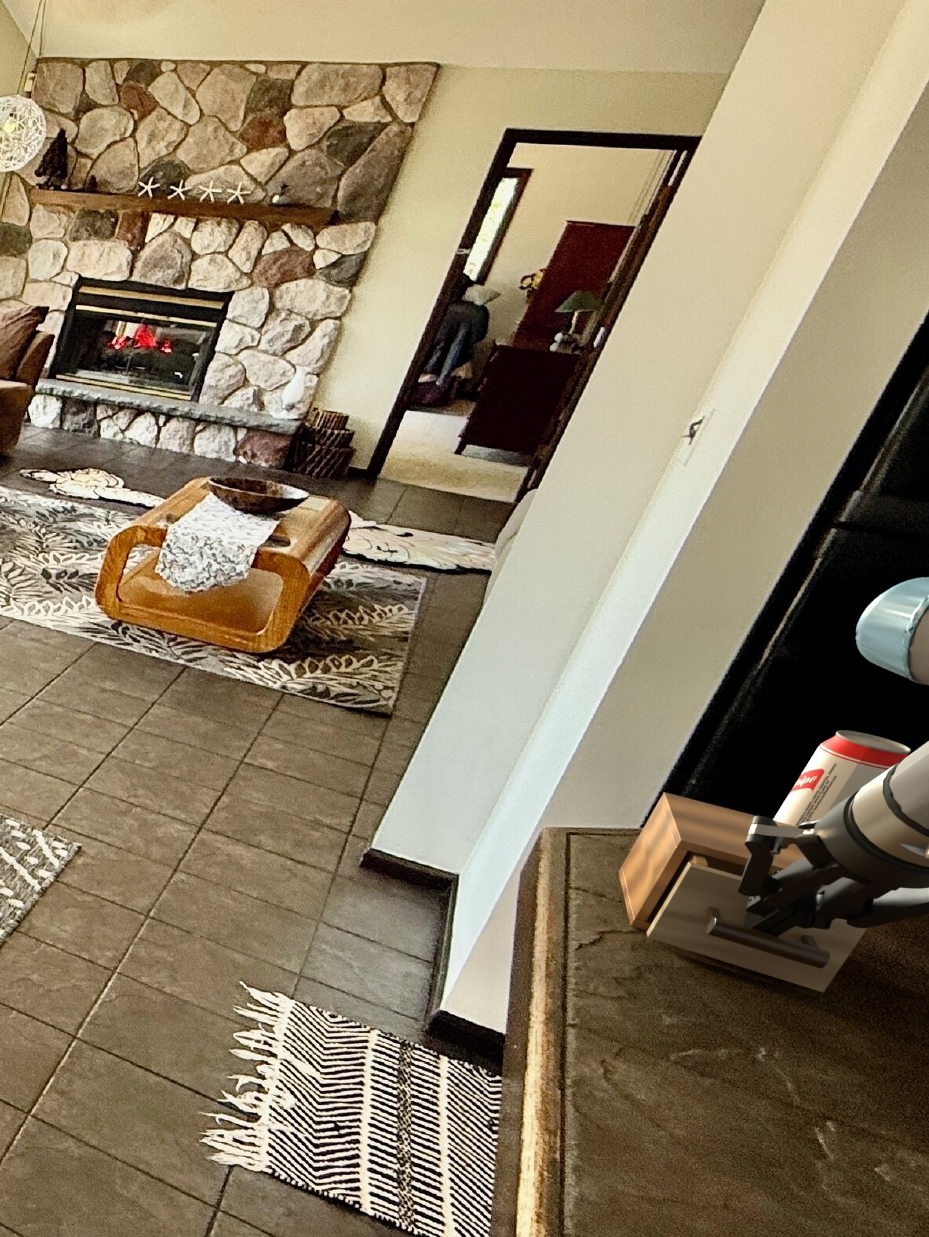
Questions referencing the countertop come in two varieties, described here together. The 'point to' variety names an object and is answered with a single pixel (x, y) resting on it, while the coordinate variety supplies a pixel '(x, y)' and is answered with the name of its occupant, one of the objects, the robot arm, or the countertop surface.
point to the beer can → (838, 774)
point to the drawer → (713, 926)
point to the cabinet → (684, 849)
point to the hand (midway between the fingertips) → (757, 925)
